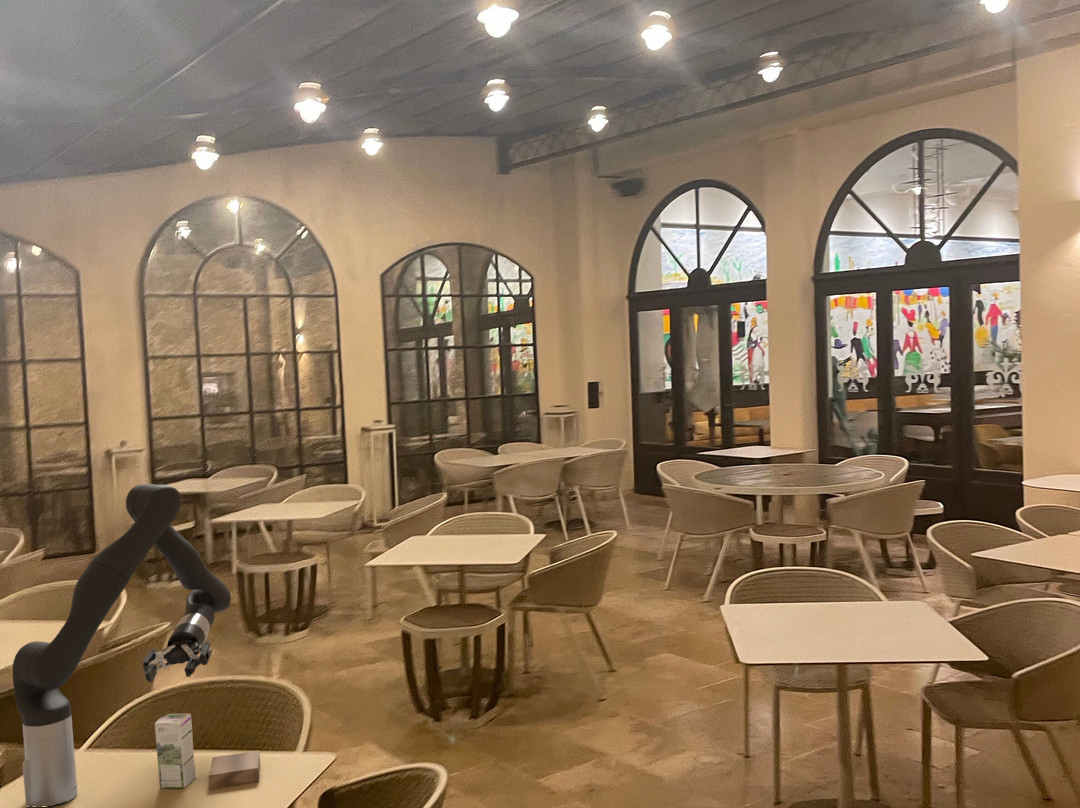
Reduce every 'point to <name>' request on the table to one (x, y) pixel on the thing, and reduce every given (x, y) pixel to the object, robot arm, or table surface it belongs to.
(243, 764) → the brown box
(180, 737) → the syrup box
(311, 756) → the table surface
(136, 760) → the table surface
